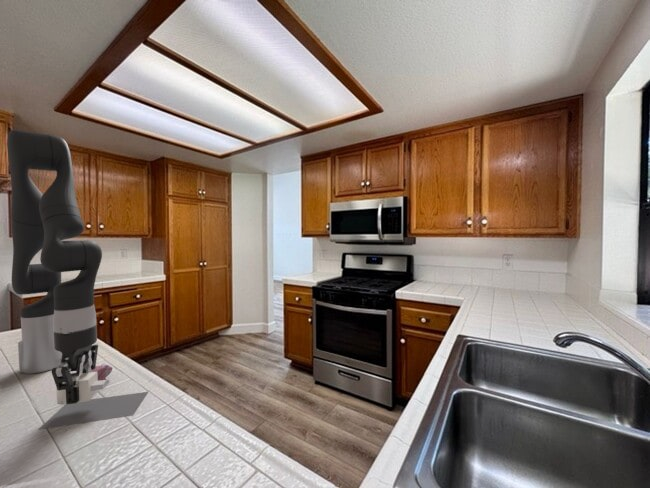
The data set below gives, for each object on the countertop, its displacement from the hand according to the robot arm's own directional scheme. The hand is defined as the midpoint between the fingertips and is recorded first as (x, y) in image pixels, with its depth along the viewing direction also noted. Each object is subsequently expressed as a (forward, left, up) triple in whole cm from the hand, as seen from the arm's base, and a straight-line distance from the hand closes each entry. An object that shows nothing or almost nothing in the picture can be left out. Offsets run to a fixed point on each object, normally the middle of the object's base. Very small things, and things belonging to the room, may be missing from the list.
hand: (78, 396), depth 67 cm
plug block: (0, 0, 0) cm, 0 cm away
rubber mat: (+4, 0, -4) cm, 6 cm away
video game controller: (-4, +12, -4) cm, 14 cm away
